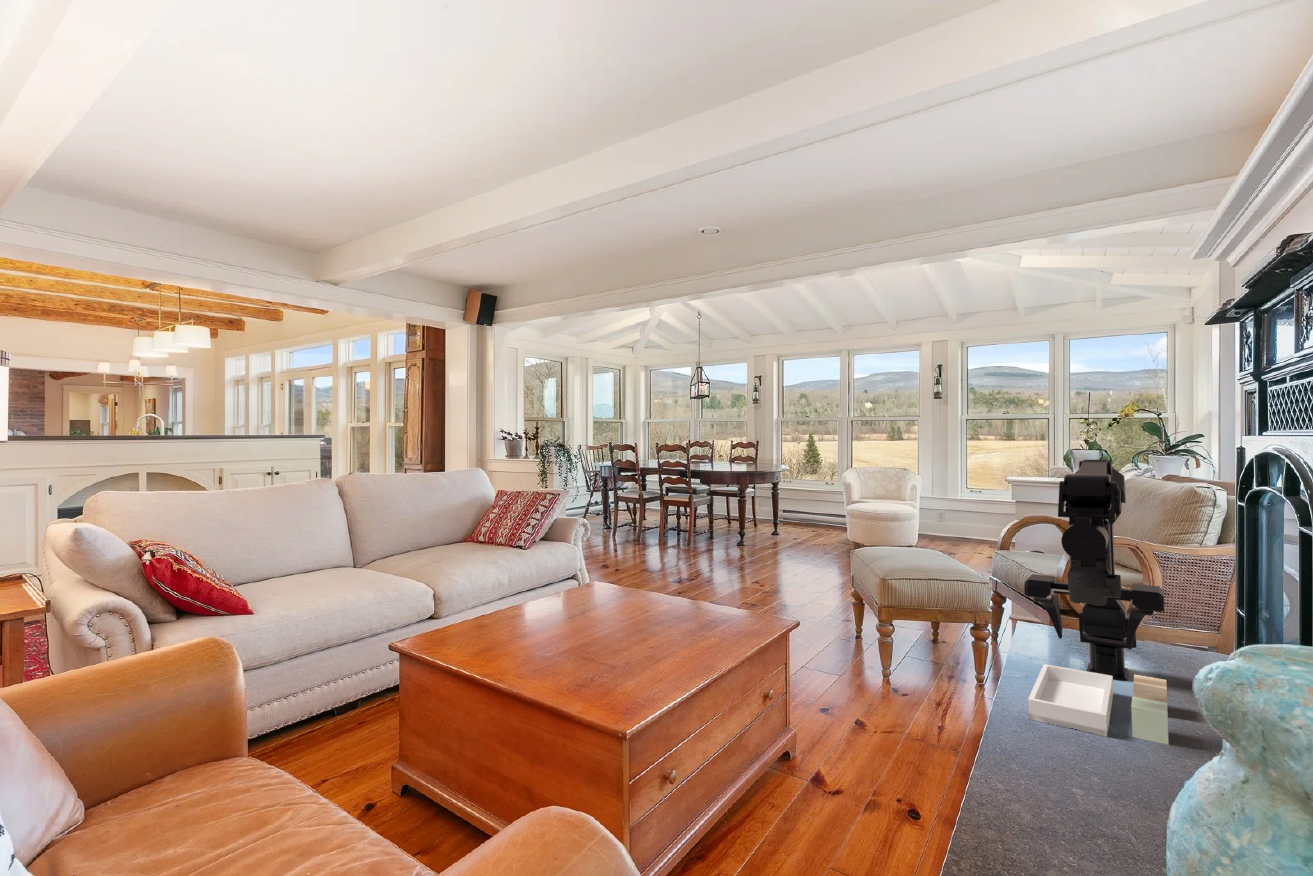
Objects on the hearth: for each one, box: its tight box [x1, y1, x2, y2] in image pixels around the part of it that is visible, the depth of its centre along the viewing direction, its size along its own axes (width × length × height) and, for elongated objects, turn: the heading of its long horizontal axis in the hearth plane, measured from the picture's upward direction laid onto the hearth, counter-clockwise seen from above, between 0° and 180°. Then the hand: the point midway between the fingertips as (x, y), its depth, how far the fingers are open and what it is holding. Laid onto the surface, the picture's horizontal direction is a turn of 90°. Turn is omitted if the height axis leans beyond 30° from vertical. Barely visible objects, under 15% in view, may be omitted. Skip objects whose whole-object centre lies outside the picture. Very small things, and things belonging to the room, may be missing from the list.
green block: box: [1130, 696, 1170, 746], centre depth 100 cm, size 4×4×5 cm
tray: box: [1027, 663, 1114, 737], centre depth 111 cm, size 19×11×4 cm, turn 141°
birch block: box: [1133, 674, 1169, 715], centre depth 109 cm, size 4×4×5 cm
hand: (1093, 642), depth 103 cm, fingers open, 9 cm apart
